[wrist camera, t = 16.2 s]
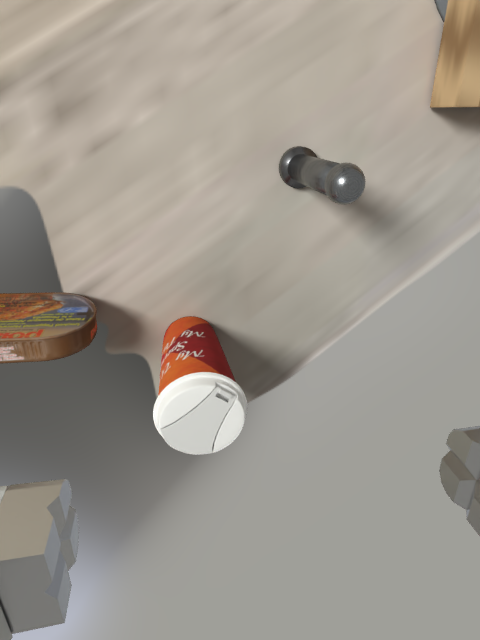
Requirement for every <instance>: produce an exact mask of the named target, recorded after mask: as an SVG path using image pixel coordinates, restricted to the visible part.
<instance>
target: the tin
mask: <svg viewBox="0 0 480 640" xmlns="http://www.w3.org/2000/svg"><path fill="white" fill-rule="evenodd" d="M96 332H97V321H96V306H95V304H94V303H93V302H92V301H91V300H89V299H88V298H86V297H83V296H81V295H77V294H71V293H12V294H11V293H10V294H5V293H3V294H0V363H17V362H36V361H37V362H38V361H49V360H55V359H60V358H64V357H67V356H70V355H72V354H75V353H77V352H79V351H81V350H82V349H84V348H85V347H87V346H88V345H89V344H90V343H91V342H92V340H93V339H94V337H95V335H96Z"/></svg>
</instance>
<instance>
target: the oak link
mask: <svg viewBox="0 0 480 640" xmlns="http://www.w3.org/2000/svg"><path fill="white" fill-rule="evenodd" d="M430 107H480V0H448V3H447V9H446V15H445V21H444V27H443V33H442V39H441V45H440V51H439V57H438V63H437V68H436V74H435V80H434V86H433V92H432V98H431V104H430Z"/></svg>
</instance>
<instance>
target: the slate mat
mask: <svg viewBox="0 0 480 640" xmlns="http://www.w3.org/2000/svg"><path fill="white" fill-rule="evenodd" d="M435 3H436V6H437V9H438V11H439V14H440V16H441V18H442V20H443V22H444V21H445V15H446V9H447V3H448V0H435Z"/></svg>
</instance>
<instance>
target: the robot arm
mask: <svg viewBox="0 0 480 640" xmlns="http://www.w3.org/2000/svg"><path fill="white" fill-rule="evenodd" d="M446 444H447V446H448V447H449V449H450V451H449V452H448V453H447V454H446V455H445V456H444V457H443V458H442V461H441V465H440V470H439V471H440V476H441V482H442V485H443V487H444V489H445V491H446V493H447V494H448V496H449V497H450V498H451V500H452V501H453V502H454V503H456V504H457V505H459V506H461V507H463V508H464V509H466V512H467V520H468V522H469V523H470V524H471V526H472V527H473V528H474V530H475V531H476V532H477V533H478V535H479V536H480V426H476V427H468V428H461V429H454V430H453V431H452V432H451V433H450V434H449V436H448V439H447V443H446ZM71 496H72V491H71V488H70V485H69V481H68V480H65V479H63V480H54V481H44V482H34V483H24V484H16V485H10V486H1V487H0V640H11V639H12V634H14V633H19V632H24V631H28V630H33V629H38V628H43V627H48V626H53V625H57V624H62V623H64V622H65V618H66V612H67V606H68V601H69V596H70V591H71V581H70V577H69V573H68V570H69V569H70V568H71V567H72V565H73V564H74V563H75V562H76V557H77V551H78V539H79V526H78V518H77V513H76V510H75V509H74V508H72V507H71V506H70V500H71Z"/></svg>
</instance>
